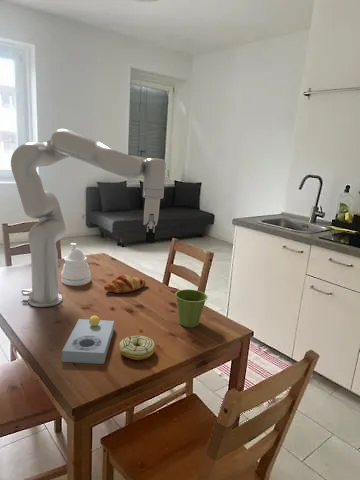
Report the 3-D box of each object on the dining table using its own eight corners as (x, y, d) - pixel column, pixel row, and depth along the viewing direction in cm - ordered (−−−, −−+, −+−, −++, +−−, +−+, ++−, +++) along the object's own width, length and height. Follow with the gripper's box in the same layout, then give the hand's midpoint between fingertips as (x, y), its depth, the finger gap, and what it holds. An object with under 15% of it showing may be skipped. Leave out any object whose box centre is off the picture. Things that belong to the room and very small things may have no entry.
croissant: (143, 291, 166) (139, 274, 167) (154, 286, 158) (150, 269, 160) (101, 298, 152) (98, 280, 154) (111, 293, 145) (107, 275, 146)
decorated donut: (123, 341, 114) (124, 330, 113) (155, 345, 114) (157, 335, 113) (115, 359, 104) (116, 347, 103) (151, 364, 104) (152, 352, 103)
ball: (87, 327, 115) (88, 318, 115) (90, 322, 119) (90, 313, 118) (98, 328, 116) (98, 318, 115) (100, 323, 119) (100, 314, 118)
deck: (78, 328, 122) (78, 319, 121) (113, 330, 122) (114, 320, 121) (62, 361, 102) (61, 351, 101) (103, 363, 103) (104, 353, 102)
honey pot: (55, 282, 160) (54, 244, 156) (78, 275, 170) (78, 239, 166) (73, 290, 153) (74, 250, 149) (96, 282, 164) (97, 245, 159)
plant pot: (210, 328, 129) (213, 299, 126) (181, 333, 124) (184, 303, 121) (195, 314, 139) (197, 287, 136) (167, 318, 134) (169, 290, 131)
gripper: (144, 190, 136) (141, 233, 140) (141, 195, 119) (138, 244, 123) (163, 191, 136) (160, 234, 140) (163, 197, 119) (160, 246, 124)
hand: (150, 239), depth 132 cm, fingers open, 9 cm apart
